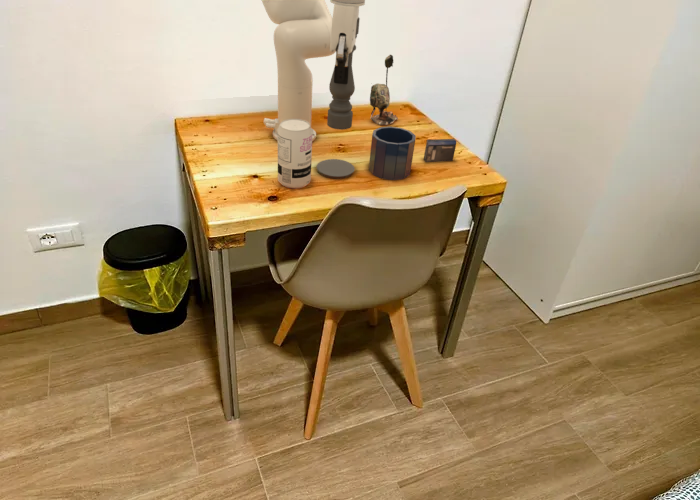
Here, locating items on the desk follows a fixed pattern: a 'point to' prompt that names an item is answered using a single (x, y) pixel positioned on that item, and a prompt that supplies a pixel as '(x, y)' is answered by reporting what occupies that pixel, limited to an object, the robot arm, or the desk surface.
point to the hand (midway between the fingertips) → (342, 78)
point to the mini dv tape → (439, 150)
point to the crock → (391, 153)
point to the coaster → (335, 169)
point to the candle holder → (342, 97)
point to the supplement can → (294, 153)
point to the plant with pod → (382, 99)
